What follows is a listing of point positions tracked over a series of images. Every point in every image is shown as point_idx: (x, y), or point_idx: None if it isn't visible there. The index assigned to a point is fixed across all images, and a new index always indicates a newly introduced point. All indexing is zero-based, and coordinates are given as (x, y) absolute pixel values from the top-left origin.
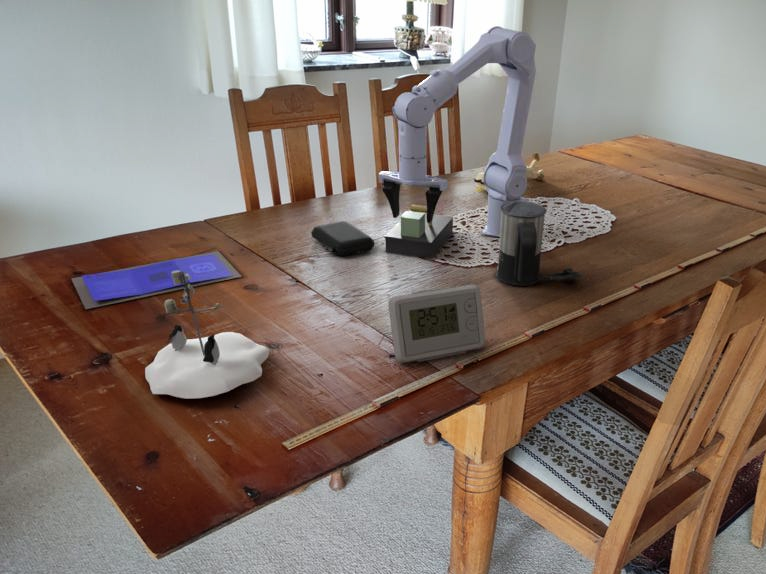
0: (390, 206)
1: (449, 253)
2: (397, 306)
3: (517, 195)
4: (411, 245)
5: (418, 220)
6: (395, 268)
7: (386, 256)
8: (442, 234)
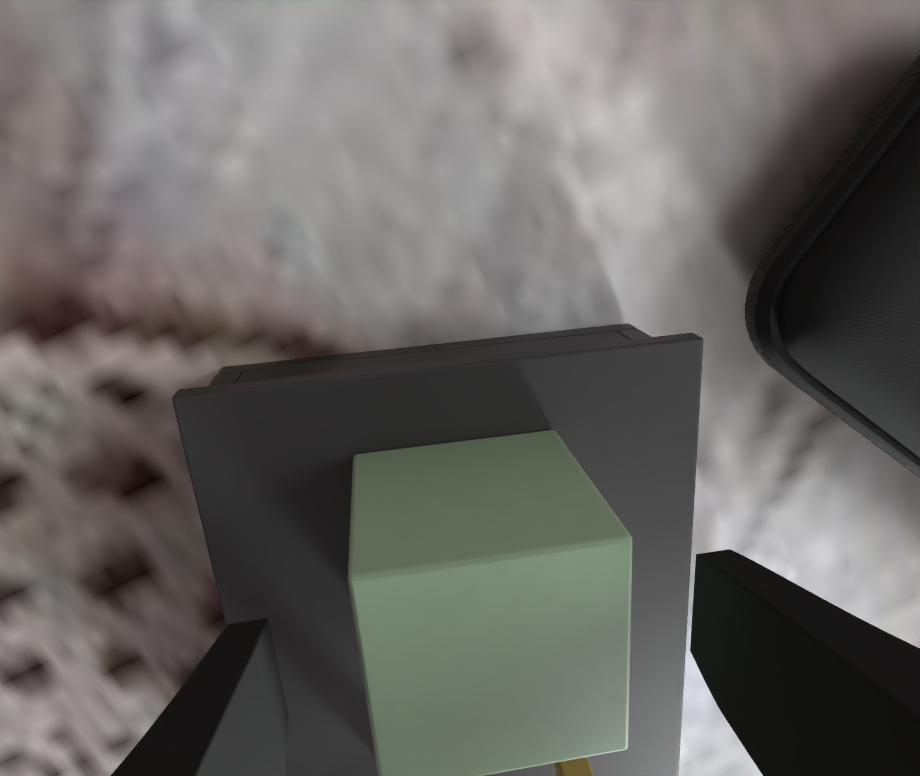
0: (873, 628)
1: (149, 530)
2: None
3: None
4: None
5: (357, 565)
6: (418, 22)
7: (593, 247)
8: None
